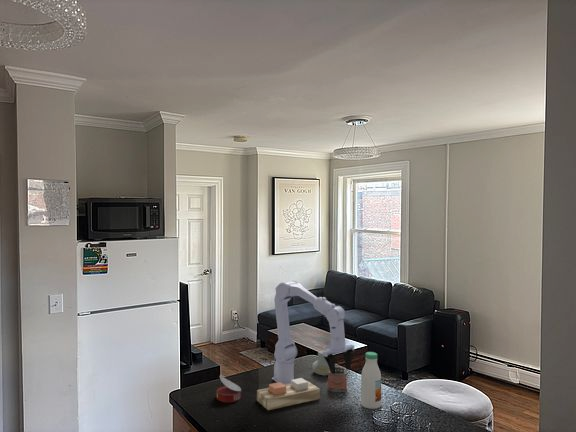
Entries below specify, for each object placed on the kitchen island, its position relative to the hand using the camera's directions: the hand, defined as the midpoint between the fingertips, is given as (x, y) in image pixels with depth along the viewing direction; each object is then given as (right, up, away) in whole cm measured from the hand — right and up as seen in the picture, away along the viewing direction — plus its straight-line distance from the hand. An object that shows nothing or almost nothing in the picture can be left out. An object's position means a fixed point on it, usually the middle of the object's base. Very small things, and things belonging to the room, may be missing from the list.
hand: (340, 371), depth 171 cm
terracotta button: (-25, -7, -5) cm, 27 cm away
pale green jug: (-5, -11, +27) cm, 29 cm away
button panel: (-21, -10, -3) cm, 24 cm away
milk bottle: (+11, -11, -7) cm, 17 cm away
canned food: (-45, -10, -1) cm, 46 cm away
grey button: (-17, -7, -1) cm, 18 cm away
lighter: (-1, -11, +7) cm, 13 cm away
